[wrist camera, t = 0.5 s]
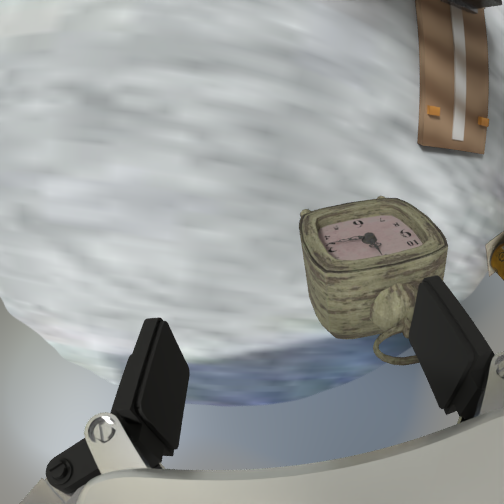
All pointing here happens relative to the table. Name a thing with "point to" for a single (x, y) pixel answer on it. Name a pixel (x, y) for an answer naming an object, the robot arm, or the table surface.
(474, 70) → the fader board
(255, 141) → the table surface
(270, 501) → the robot arm
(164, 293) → the table surface
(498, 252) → the condiment
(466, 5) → the fader slider
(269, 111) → the table surface
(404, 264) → the tabletop clock
